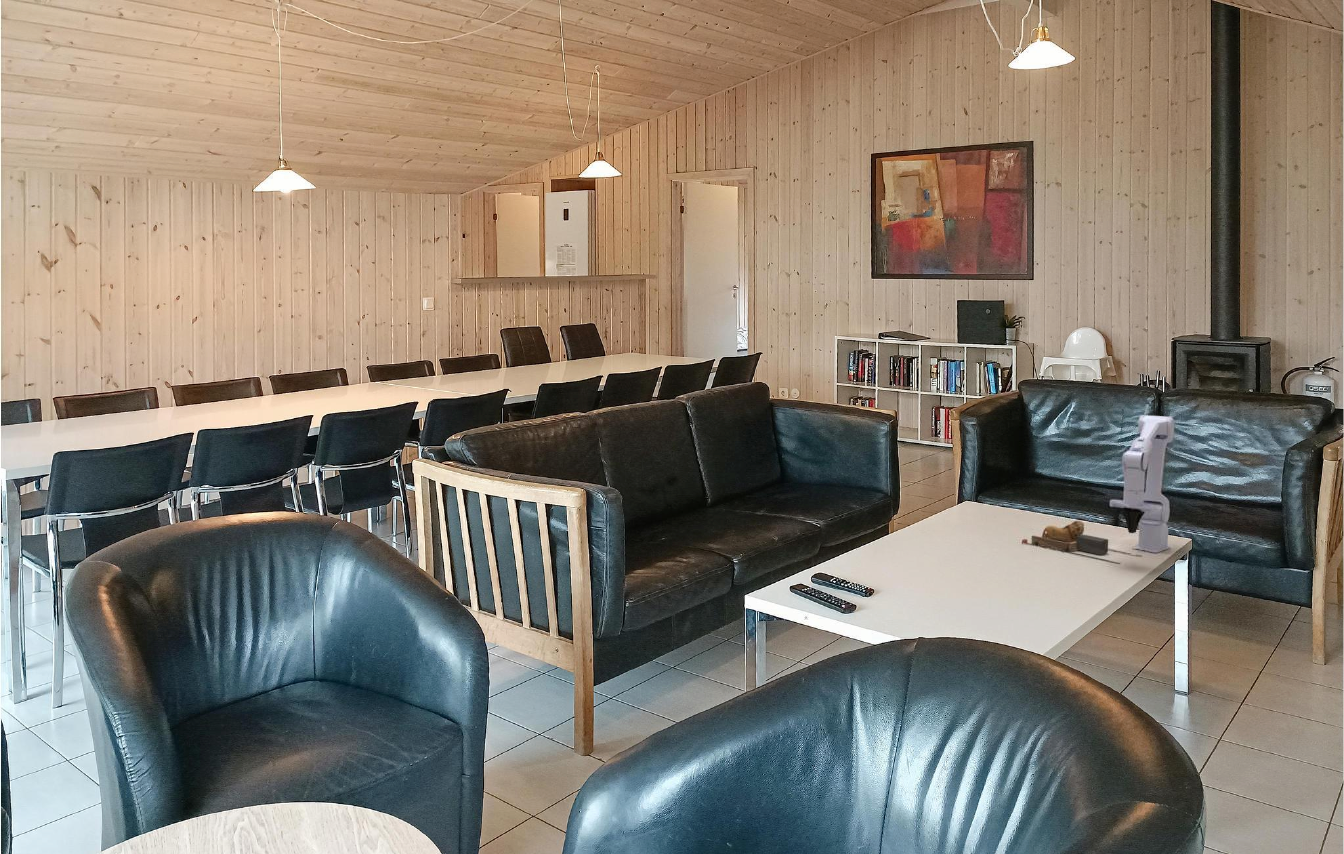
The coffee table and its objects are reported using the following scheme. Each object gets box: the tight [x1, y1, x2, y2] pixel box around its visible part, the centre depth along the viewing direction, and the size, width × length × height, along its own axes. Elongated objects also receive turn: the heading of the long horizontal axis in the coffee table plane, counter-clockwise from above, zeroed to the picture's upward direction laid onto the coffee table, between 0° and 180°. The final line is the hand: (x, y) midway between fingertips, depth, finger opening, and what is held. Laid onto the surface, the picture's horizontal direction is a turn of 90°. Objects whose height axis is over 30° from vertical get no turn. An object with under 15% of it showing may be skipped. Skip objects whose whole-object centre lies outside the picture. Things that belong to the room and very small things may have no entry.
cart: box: [1031, 533, 1109, 555], centre depth 351 cm, size 13×23×4 cm, turn 37°
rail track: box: [1021, 532, 1142, 565], centre depth 349 cm, size 14×35×1 cm, turn 37°
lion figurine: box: [1041, 520, 1085, 543], centre depth 353 cm, size 15×5×9 cm, turn 71°
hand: (1132, 532), depth 328 cm, fingers closed
